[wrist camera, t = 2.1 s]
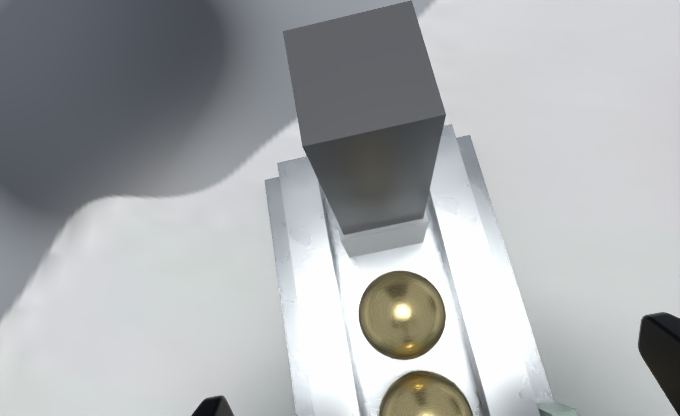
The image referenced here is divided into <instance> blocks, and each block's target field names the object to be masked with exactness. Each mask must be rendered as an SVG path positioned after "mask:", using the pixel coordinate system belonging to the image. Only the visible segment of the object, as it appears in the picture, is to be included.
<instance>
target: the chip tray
mask: <svg viewBox="0 0 680 416" xmlns="http://www.w3.org/2000/svg"><path fill="white" fill-rule="evenodd" d="M537 407H538V410H539V413H540V416H579V415H578V412H577V410H576V409H573V408H570V407H568V406H565V405H562V404H559V403H556V402H550V403H544V404H539V405H537Z"/></svg>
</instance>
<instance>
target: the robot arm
mask: <svg viewBox="0 0 680 416" xmlns="http://www.w3.org/2000/svg"><path fill="white" fill-rule="evenodd" d="M638 348H639V352H640V354H641V356H642V358H643V359H644V361H645V363H646V364H647V366H648V367H649V369H650V371H651V372H652V374H653V375H654V377H655V379H656V380H657V382H658V383H659V385H660V387H661V388H662V390H663V391H664V393H665V395H666V396H667V398H668V399H669V401H670V403H671V404H672V406H673V407H674V409H675V411H676V412H677V414H678V415H679V416H680V318H677V317H675V316H673V315H671V314H668V313H664V312H660V313H655V314H650V315H645V316H644V317H643V318H642V319H641V324H640V332H639V339H638ZM191 416H234V414H233V412H232V410H231V408H230V406H229V404H228V402H227V400H226V398H225V397H224V396H215V397H210V398H206V399H205V400H203V401H202V402H201V404H200V405H199V406H198V408H197V409H196V410H195V412H194V413H193V414H192V415H191Z"/></svg>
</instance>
